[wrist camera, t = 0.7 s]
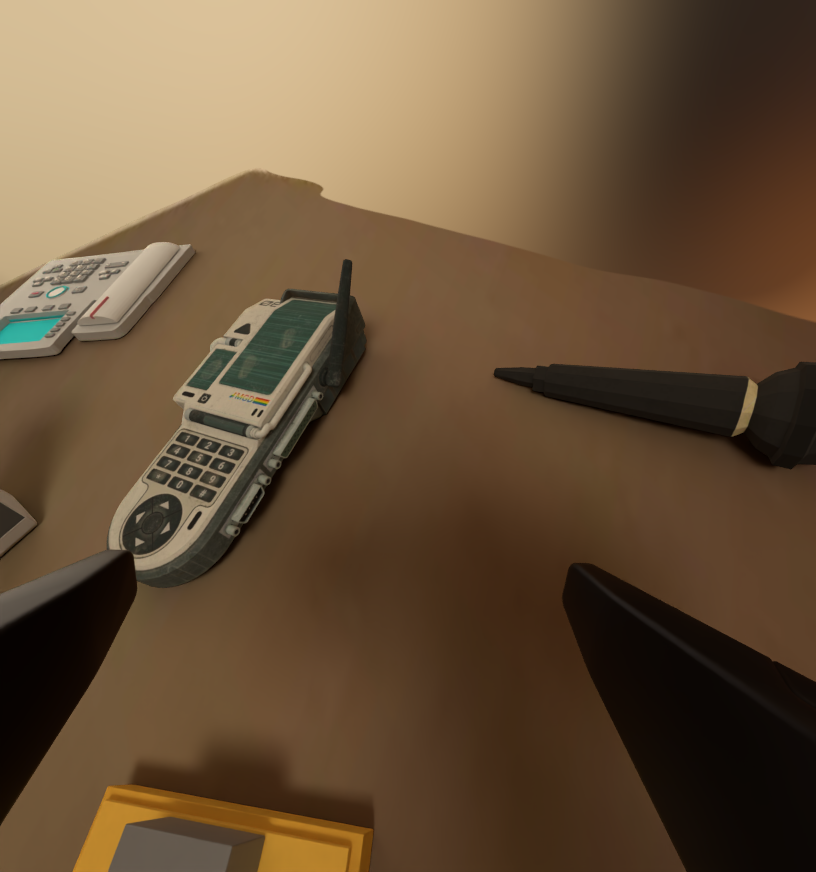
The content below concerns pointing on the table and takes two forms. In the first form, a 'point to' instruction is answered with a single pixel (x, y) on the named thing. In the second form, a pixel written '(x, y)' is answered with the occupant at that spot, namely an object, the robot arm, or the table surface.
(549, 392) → the microphone
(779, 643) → the table surface
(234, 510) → the communication device
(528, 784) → the table surface
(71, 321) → the office telephone
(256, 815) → the cushion
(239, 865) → the remote
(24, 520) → the vintage mobile phone
